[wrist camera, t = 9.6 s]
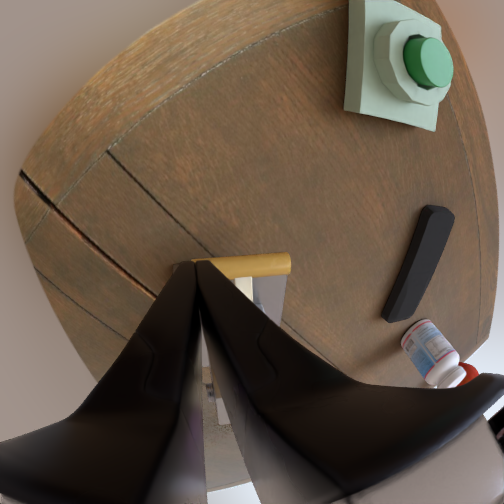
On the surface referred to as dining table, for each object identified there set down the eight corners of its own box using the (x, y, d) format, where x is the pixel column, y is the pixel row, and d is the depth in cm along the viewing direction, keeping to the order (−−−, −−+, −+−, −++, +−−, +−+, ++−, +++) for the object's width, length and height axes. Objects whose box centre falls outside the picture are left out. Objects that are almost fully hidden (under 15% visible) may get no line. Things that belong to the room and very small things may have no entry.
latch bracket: (173, 264, 21) (173, 367, 13) (284, 255, 23) (335, 344, 15) (188, 358, 28) (198, 443, 19) (271, 348, 29) (299, 426, 21)
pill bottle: (409, 347, 39) (444, 398, 29) (393, 343, 36) (431, 400, 27) (434, 321, 37) (473, 370, 27) (420, 313, 34) (465, 369, 25)
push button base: (348, -6, 13) (379, -19, 9) (423, 27, 14) (456, 25, 11) (343, 110, 18) (375, 116, 14) (418, 126, 19) (450, 137, 16)
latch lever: (191, 256, 18) (191, 263, 15) (281, 249, 19) (294, 254, 17) (208, 397, 19) (211, 417, 17) (282, 386, 21) (292, 403, 18)
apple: (466, 352, 53) (487, 380, 44) (444, 375, 56) (464, 403, 47) (458, 350, 49) (482, 381, 40) (434, 375, 52) (456, 406, 43)
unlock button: (402, 31, 12) (420, 29, 10) (437, 48, 12) (454, 49, 11) (401, 77, 14) (419, 78, 12) (435, 90, 14) (452, 94, 13)
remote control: (420, 202, 24) (378, 318, 31) (431, 208, 23) (386, 328, 30) (446, 206, 25) (406, 313, 32) (457, 212, 24) (413, 321, 31)
